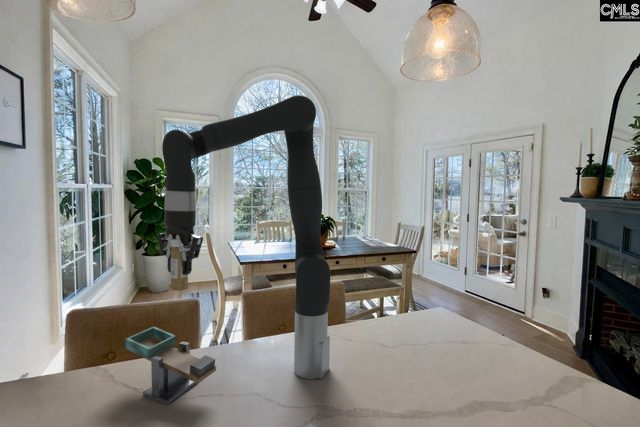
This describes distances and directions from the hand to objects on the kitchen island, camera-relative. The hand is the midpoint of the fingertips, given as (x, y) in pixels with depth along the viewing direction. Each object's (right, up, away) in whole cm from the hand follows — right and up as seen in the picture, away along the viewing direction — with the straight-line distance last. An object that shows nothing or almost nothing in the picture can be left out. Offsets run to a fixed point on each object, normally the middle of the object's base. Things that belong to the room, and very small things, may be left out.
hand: (179, 272), depth 85 cm
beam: (0, -20, -5) cm, 21 cm away
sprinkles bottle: (0, -4, 0) cm, 4 cm away
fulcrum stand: (0, -28, -4) cm, 29 cm away
